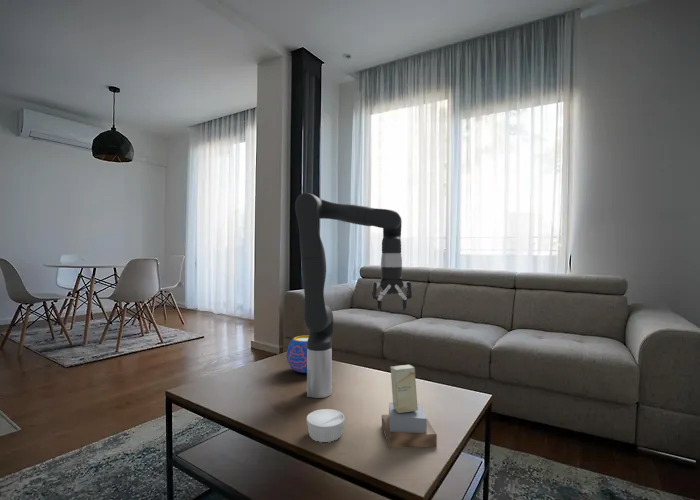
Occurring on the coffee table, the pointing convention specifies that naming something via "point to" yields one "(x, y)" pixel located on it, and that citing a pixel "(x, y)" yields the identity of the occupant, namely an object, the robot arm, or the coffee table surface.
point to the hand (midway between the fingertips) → (391, 310)
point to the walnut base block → (408, 436)
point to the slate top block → (408, 420)
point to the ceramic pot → (298, 353)
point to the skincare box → (404, 388)
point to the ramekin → (325, 425)
